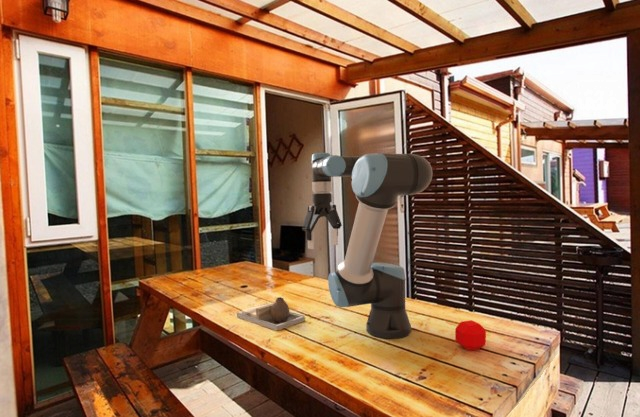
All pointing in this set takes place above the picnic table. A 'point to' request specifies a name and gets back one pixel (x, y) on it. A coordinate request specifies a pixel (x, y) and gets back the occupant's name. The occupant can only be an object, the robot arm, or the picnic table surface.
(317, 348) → the picnic table surface
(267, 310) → the cover
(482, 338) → the ball
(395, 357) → the picnic table surface
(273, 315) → the vase
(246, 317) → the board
